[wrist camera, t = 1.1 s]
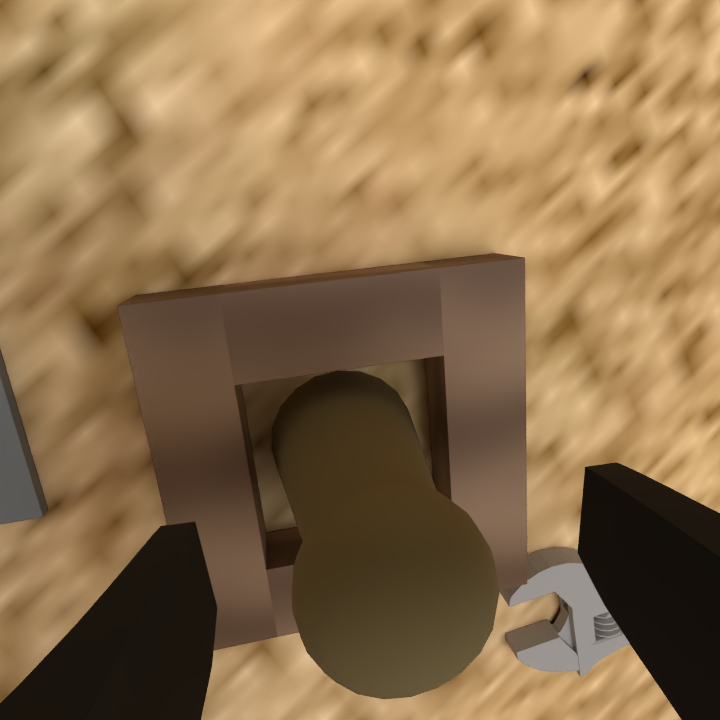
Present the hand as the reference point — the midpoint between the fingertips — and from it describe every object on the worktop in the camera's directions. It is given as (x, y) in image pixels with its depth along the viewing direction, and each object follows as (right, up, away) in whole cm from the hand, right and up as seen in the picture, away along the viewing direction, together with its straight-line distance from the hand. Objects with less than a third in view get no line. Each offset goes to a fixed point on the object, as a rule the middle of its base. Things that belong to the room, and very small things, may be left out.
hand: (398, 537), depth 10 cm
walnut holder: (-1, 0, +12) cm, 12 cm away
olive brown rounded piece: (-1, 0, +13) cm, 13 cm away
